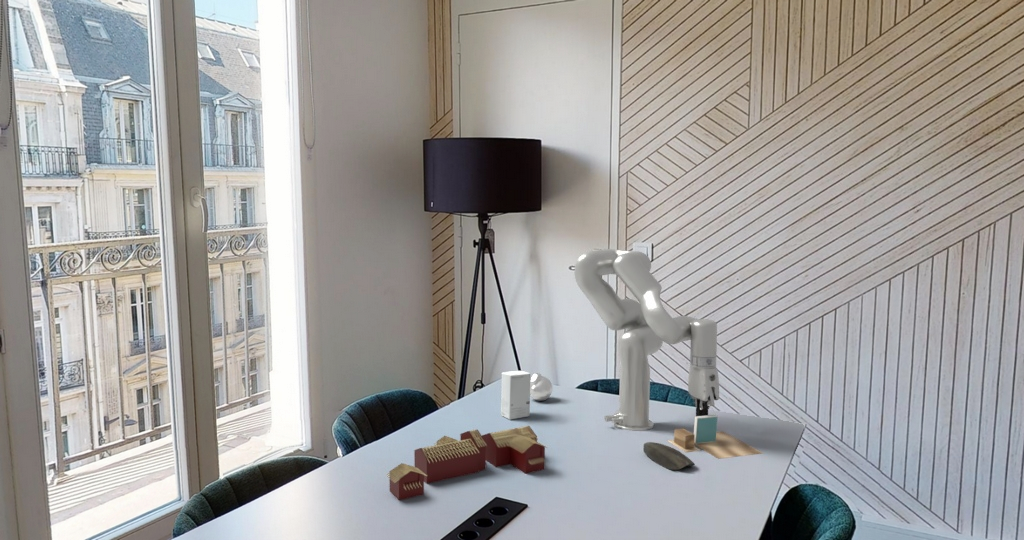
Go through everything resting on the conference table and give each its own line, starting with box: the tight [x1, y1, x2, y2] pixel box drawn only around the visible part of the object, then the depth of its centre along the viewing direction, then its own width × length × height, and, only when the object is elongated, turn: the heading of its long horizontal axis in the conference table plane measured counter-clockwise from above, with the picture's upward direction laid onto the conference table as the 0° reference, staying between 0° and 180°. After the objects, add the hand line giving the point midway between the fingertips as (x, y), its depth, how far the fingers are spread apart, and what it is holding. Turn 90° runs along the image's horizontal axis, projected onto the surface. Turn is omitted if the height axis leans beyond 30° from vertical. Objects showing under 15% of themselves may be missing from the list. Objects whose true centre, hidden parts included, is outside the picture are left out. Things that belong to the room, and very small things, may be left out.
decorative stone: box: [643, 441, 695, 471], centre depth 197 cm, size 17×6×4 cm, turn 30°
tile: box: [693, 414, 718, 444], centre depth 211 cm, size 7×1×8 cm, turn 108°
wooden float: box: [667, 428, 702, 453], centre depth 209 cm, size 5×10×5 cm, turn 18°
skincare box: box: [500, 370, 531, 421], centre depth 237 cm, size 8×6×15 cm
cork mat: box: [694, 430, 763, 460], centre depth 210 cm, size 15×20×1 cm
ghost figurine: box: [530, 372, 554, 402], centre depth 256 cm, size 9×10×10 cm
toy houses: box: [385, 425, 548, 501], centre depth 188 cm, size 45×20×10 cm, turn 121°
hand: (701, 421), depth 214 cm, fingers closed
